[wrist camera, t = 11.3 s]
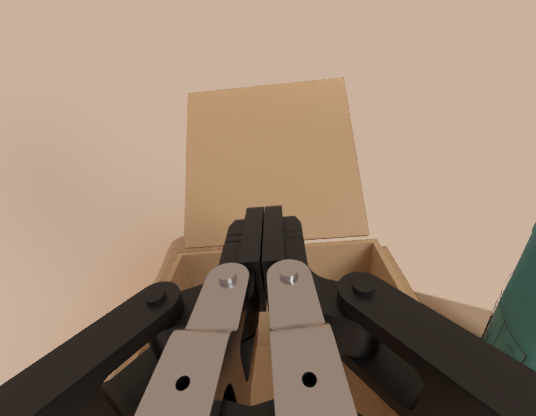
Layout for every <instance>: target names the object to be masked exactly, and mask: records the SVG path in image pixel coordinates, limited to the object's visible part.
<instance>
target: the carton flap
mask: <svg viewBox="0 0 536 416" xmlns="http://www.w3.org/2000/svg"><path fill="white" fill-rule="evenodd" d="M187 103H188V104H187V144H186V145H187V146H186V147H187V148H186V188H185V233H184V248H186V249H187V248H202V247H216V246H224V243H225V239H226V236H227V231H228V227H229V226H230V225H231V224H232V223H233V222H234V221H235V220H240V219H245V214H246V209H247V208H249V207H263V206H264V210H265V206H277V205H282V214H283V217H284V216H296V217H297V218H298V219H299V221H300V222H301V225H302V232H303V238H304V240H315V239H328V238H341V237H342V238H343V237H356V236H368V235H369V228H368V223H367V217H366V211H365V204H364V198H363V192H362V186H361V180H360V173H359V167H358V162H357V155H356V149H355V143H354V137H353V131H352V124H351V119H350V113H349V106H348V101H347V94H346V88H345V82H344V77H342V78H332V79H322V80H312V81H302V82H292V83H283V84H273V85H264V86H253V87H244V88H234V89H224V90H215V91H204V92H195V93H188V102H187Z"/></svg>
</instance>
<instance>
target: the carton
mask: <svg viewBox="0 0 536 416" xmlns="http://www.w3.org/2000/svg"><path fill="white" fill-rule="evenodd" d="M305 250H306V256H307V262H308V266H309V268H310V269H311V270H312V271H313V272H314V273H315V274H317V275H318V276H320V277H323V278H326V279H330V280H335V281H339V280H340V279H341V278H342V277H343V276H344V275H346V274H348V273H352V272H366V273H370V274H372V275H375V276H377V277H378V278H380V279H382V280H383V281H385V282H387V283H388V284H390V285H392V286H393V287H395V288H397V289H398V290H400V291H402V292H404V293H405V294H407V295H409V296H410V297H412V298H414V299H415V300H417V301H419V300H418V298H417V297H416V295H415V293H414V292H413V290H412V288H411V287H410V285H409V283H408V282H407V280H406V278H405V277H404V275H403V274H402V272H401V270H400V268H399V267H398V265H397V263H396V262H395V260H394V258H393V257H392V255H391V253H390V252H389V250H388V248H387V247H386V246H383V247H381V246H380V244H379V242H378V241H377V239H367V240H354V241H353V240H352V241H338V242H325V243H310V244H305ZM221 254H222V250H210V251H195V252H181V253H178V255H177V257H176V259H175V261H170V262H169V264H168V266H167V268H166V270H165V272H164V274H163V276H162V278H161V280H160V282H163V281H168V282H173V283H175V284H176V285H177V286H178V287H179V289H180V291H182V290H185V289H189V288H192V287H195V286H198V285H201V284H203V283H204V282H205V279H206V277H207V275H208V274H209V272H210V271H211V270H213V269H214V268H215V267H217V266H218V265H219V261H220V258H221ZM258 330H259V333H258V341H257V348H256V355H255V362H254V369H253V377H252V384H251V406H253V405H257V404H260V403H263V402H266V401H269V400H272V399H274V389H273V374H272V360H271V345H270V315H269V312H268V306H267V308H266V312H259V324H258ZM149 347H150V345H149V343H147V344H146V345H145V346H143V347H142V348H141V349H140V350H139V351H137V352H136V353H135V354H134V355H133V356H131V357H130V358H129V359H128V360H126V361H125V362H124V363H123V364H122V365H120V366H119V367H118V369H117V371H116V373H115V375H116V374H118V373H119V372H120V371H121V370H122V369H124V368H125V367H126V366H127V365H128V364H130V363H131V362H132V361H133V360H134V359H136V358H137V357H138V356H139V355H140V354H142V353H143V352H144V351H145V350H146V349H148V348H149ZM342 365H343V368H344V372H345V375H346V378H347V382H348V385H349V388H350V392H351V395H352V399H353V402H354V405H355V409H356V412H358V413H360V414H361V415H363V416H399V415H398V414H397V413H396V412H395V411H394V410H393V409H391V408H390V407H389V406H388V405H387V404H386V403H385V402H384V401H383V400H382V399H381V398H380V397H379V396H378V395H377V394H376V393H375V392H374V391H373V390H372V389H370V388H369V387H368V386H367V385H366V384H365V383H364V382H363V381H362V380H361V379H360V378H359V377H358V376H357V375H356V374H355V373H354V372H353V371H352V370H351V369H349V368H348V367H347V366H346V365H345V364H344V363H343V362H342ZM115 375H114V376H115Z"/></svg>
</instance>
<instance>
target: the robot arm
mask: <svg viewBox="0 0 536 416" xmlns="http://www.w3.org/2000/svg"><path fill="white" fill-rule="evenodd" d="M267 306H268V312H269V315H270V345H271V360H272V374H273V389H274V399H272V400H269V401H266V402H263V403H260V404H257V405H253V406H251V384H252V377H253V369H254V362H255V355H256V348H257V341H258V333H259V330H258V324H259V312H266V308H267ZM147 343H149V345H150V347H149V348H148V349H146V350H145V351H144V352H143V353H142V354H140V355H139V356H138V357H137V358H136V359H134V360H133V361H132V362H131V363H130V364H128V365H127V366H126V367H125V368H124V369H122V370H121V371H120V372H119V373H118V374H116V375H115V376H114V377H113V378H112V379H110V380H109V381H107V382H104V380H105V379H106V378H107V377H108V376H109V375H110V374H111V373H112V372H113V371H114V370H116V369H117V368H118V367H119V366H120V365H122V364H123V363H124V362H125V361H126V360H128V359H129V358H130V357H131V356H133V355H134V354H135V353H136V352H137V351H139V350H140V349H141V348H142V347H143V346H145V345H146V344H147ZM342 362H343V363H344V364H345V365H346V366H347V367H348V368H349V369H351V370H352V371H353V372H354V373H355V374H356V375H357V376H358V377H359V378H360V379H361V380H362V381H363V382H364V383H365V384H366V385H367V386H368V387H369V388H370V389H372V390H373V391H374V392H375V393H376V394H377V395H378V396H379V397H380V398H381V399H382V400H383V401H384V402H385V403H386V404H387V405H388V406H389V407H390V408H391V409H393V410H394V411H395V412H396V413H397V414H398V415H399V416H536V371H534V370H533V369H531V368H529V367H527V366H526V365H524V364H522V363H521V362H519V361H517V360H516V359H514V358H512V357H511V356H509V355H507V354H506V353H504V352H502V351H501V350H499V349H497V348H496V347H494V346H492V345H491V344H489V343H487V342H486V341H484V340H482V339H481V338H479V337H477V336H476V335H474V334H472V333H471V332H469V331H467V330H466V329H464V328H462V327H460V326H459V325H457V324H455V323H454V322H452V321H450V320H449V319H447V318H445V317H444V316H442V315H440V314H439V313H437V312H435V311H434V310H432V309H430V308H429V307H427V306H425V305H424V304H422V303H420V302H419V301H417V300H415V299H414V298H412V297H410V296H409V295H407V294H405V293H404V292H402V291H400V290H398V289H397V288H395V287H393V286H392V285H390V284H388V283H387V282H385V281H383V280H382V279H380V278H378V277H377V276H375V275H372V274H370V273H366V272H352V273H348V274H346V275H344V276H343V277H342V278H341V279H340V280H339V281H335V280H330V279H326V278H323V277H320V276H318V275H317V274H315V273H314V272H313V271H312V270H311V269H310V268H309V266H308V262H307V256H306V250H305V244H304V238H303V232H302V225H301V222H300V221H299V219H298V218H297V217H296V216H284V217H283V214H282V205H277V206H265V210H264V206H263V207H249V208H247V209H246V214H245V219H240V220H235V221H234V222H233V223H232V224H231V225H230V226H229V227H228V231H227V236H226V239H225V243H224V246H223V250H222V254H221V258H220V261H219V265H218V266H217V267H215V268H214V269H213V270H211V271H210V272H209V274H208V275H207V277H206V279H205V282H204V283H203V284H201V285H198V286H195V287H192V288H189V289H185V290H182V291H180V289H179V287H178V286H177V285H176V284H175V283H173V282H168V281H163V282H158V283H155V284H152V285H150V286H148V287H146V288H144V289H143V290H142V291H140V292H139V293H137V294H136V295H134V296H133V297H131V298H130V299H128V300H127V301H126V302H124V303H122V304H121V305H119V306H118V307H116V308H115V309H113V310H112V311H111V312H109V313H107V314H106V315H105V316H103V317H102V318H100V319H99V320H97V321H96V322H94V323H93V324H91V325H90V326H88V327H87V328H85V329H84V330H82V331H81V332H79V333H78V334H76V335H75V336H73V337H72V338H71V339H69V340H68V341H66V342H65V343H63V344H62V345H60V346H59V347H57V348H56V349H54V350H53V351H52V352H50V353H48V354H47V355H45V356H44V357H42V358H41V359H39V360H38V361H36V362H35V363H33V364H32V365H31V366H29V367H28V368H26V369H25V370H23V371H22V372H20V373H19V374H17V375H16V376H14V377H13V378H11V379H10V380H8V381H7V382H5V383H4V384H3V385H1V386H0V416H363V415H361V414H360V413H358V412H356V409H355V405H354V402H353V399H352V395H351V392H350V388H349V385H348V382H347V378H346V375H345V372H344V368H343V365H342ZM103 382H104V383H103Z"/></svg>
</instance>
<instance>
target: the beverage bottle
mask: <svg viewBox="0 0 536 416" xmlns="http://www.w3.org/2000/svg"><path fill="white" fill-rule="evenodd" d="M492 316H493V317H492ZM491 318H492V319H491ZM489 323H490V324H489ZM488 325H489V326H488ZM487 327H488V328H487ZM484 334H485V335H484ZM483 336H484V337H483ZM481 339H482V340H484V341H486V342H487V343H489V344H491V345H492V346H494V347H496V348H497V349H499V350H501V351H502V352H504V353H506V354H507V355H509V356H511V357H512V358H514V359H516V360H517V361H519V362H521V363H522V364H524V365H526V366H527V367H529V368H531V369H533V370H534V371H536V223H535V224H534V226H533V229H532V234H531V236H530V238H529V241H528V243H527V245H526V247H525V249H524V251H523V253H522V255H521V258H520V260H519V262H518V264H517V266H516V269H515V270H514V273H513V275H512V277H511V279H510V281H509V282H508V284H507V286H506V288H505V290H504V292H503V295H502V297H501V298H500V301H499V304H498V306H497V308H496V310H495V312H494V315H491V316H490V319H489V321H488V324H487V326H486V328H485V330H484V333H483V335H482V337H481Z"/></svg>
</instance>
